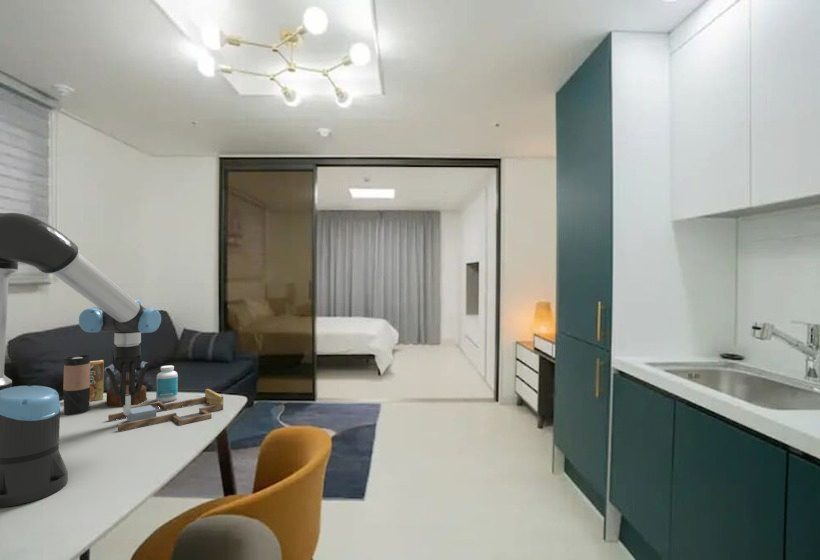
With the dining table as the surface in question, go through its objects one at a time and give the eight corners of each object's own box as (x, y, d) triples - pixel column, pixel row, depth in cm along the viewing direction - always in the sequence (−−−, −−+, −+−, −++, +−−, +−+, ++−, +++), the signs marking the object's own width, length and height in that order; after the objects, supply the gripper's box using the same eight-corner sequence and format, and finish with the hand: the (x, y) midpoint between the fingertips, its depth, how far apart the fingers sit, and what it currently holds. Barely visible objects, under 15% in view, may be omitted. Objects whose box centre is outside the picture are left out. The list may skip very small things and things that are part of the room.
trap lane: (124, 437, 130) (124, 421, 130) (103, 415, 150) (103, 401, 150) (231, 413, 154) (231, 400, 154) (201, 397, 174) (201, 385, 174)
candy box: (103, 397, 172) (103, 359, 172) (103, 399, 169) (103, 361, 169) (75, 400, 167) (75, 362, 167) (75, 403, 164) (75, 364, 163)
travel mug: (78, 415, 150) (79, 359, 150) (57, 414, 150) (58, 358, 150) (94, 408, 158) (95, 355, 158) (74, 408, 158) (75, 354, 158)
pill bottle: (181, 399, 171) (181, 366, 171) (162, 403, 165) (162, 369, 165) (171, 396, 175) (171, 363, 175) (152, 400, 169) (152, 366, 169)
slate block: (132, 425, 141) (132, 413, 141) (127, 420, 146) (127, 409, 146) (156, 420, 146) (156, 409, 146) (150, 416, 151) (150, 404, 151)
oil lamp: (115, 406, 172) (102, 309, 174) (156, 397, 175) (143, 302, 178) (99, 412, 158) (85, 307, 161) (144, 403, 162) (129, 300, 165)
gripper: (146, 341, 150) (145, 407, 150) (101, 345, 141) (101, 415, 141) (152, 344, 145) (152, 412, 145) (107, 348, 136) (106, 421, 136)
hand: (127, 414), depth 143 cm, fingers closed
